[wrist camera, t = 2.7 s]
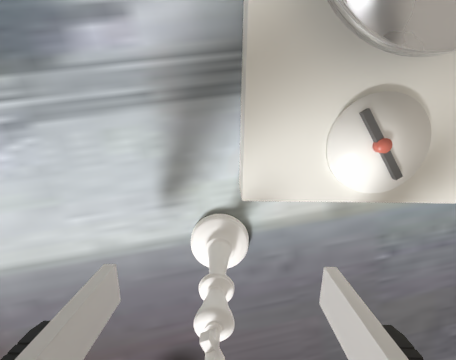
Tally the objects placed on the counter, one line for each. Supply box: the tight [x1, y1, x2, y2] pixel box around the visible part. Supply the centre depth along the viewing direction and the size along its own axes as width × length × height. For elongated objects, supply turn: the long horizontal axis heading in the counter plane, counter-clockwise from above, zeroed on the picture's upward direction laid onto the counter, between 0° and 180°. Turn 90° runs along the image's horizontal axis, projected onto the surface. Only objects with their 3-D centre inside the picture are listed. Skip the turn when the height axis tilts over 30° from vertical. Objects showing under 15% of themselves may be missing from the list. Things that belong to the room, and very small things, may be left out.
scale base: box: [239, 0, 456, 203], centre depth 12 cm, size 20×15×5 cm
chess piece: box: [191, 214, 249, 360], centre depth 13 cm, size 5×5×10 cm
